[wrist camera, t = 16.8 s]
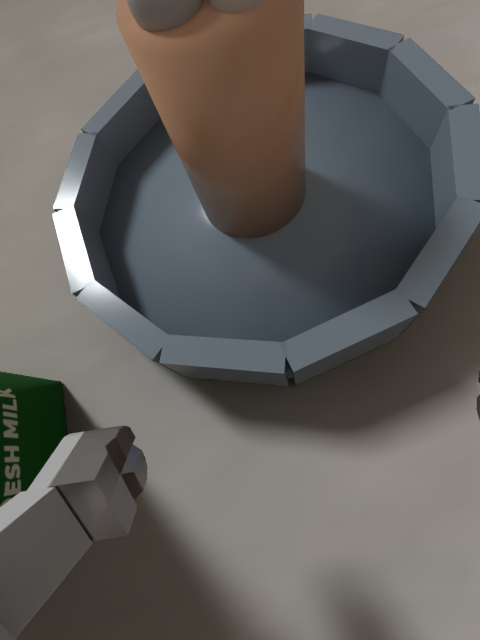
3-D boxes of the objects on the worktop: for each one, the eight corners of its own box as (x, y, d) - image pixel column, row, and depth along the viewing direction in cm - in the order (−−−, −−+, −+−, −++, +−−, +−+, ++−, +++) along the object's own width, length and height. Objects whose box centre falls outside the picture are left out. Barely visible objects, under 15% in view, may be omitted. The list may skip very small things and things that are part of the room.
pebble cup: (264, 256, 17) (204, 11, 7) (183, 210, 19) (48, -33, 9) (327, 175, 18) (349, -144, 8) (243, 139, 19) (178, -154, 10)
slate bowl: (309, 475, 14) (311, 487, 11) (36, 260, 21) (-14, 228, 18) (522, 143, 17) (572, 75, 14) (226, 48, 24) (213, -12, 21)
